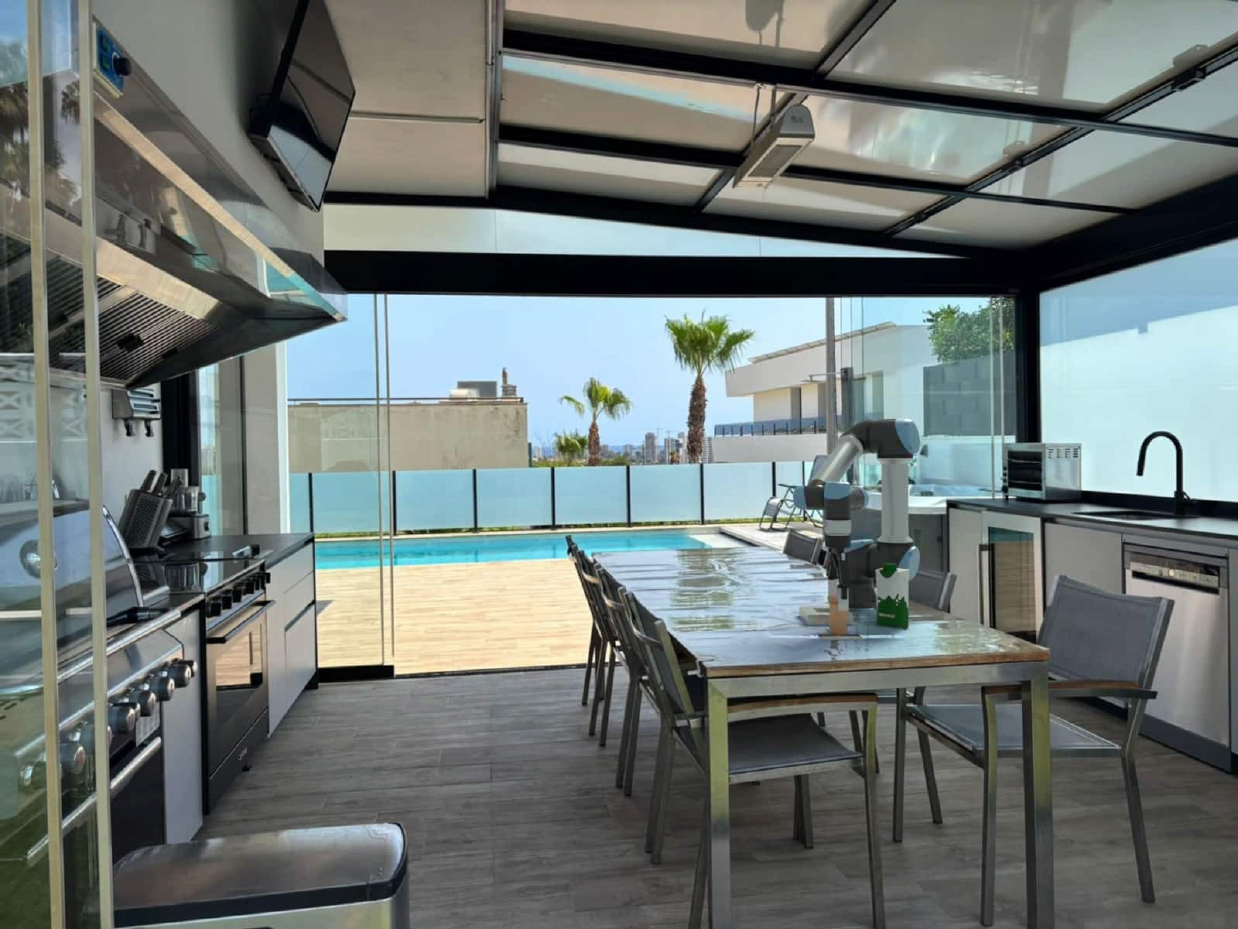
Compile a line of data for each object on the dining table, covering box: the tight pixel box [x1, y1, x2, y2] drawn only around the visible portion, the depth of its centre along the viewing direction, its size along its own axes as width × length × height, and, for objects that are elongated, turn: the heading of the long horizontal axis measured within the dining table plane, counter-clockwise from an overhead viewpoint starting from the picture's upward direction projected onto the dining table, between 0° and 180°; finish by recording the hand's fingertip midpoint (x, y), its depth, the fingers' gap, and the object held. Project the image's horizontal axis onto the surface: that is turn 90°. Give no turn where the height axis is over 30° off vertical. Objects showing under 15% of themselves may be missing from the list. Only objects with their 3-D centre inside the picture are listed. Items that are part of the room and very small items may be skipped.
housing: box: [798, 605, 855, 626], centre depth 263 cm, size 14×14×4 cm
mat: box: [816, 633, 865, 641], centre depth 246 cm, size 12×12×1 cm
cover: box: [827, 595, 849, 636], centre depth 246 cm, size 6×6×11 cm
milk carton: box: [875, 563, 910, 630], centre depth 256 cm, size 9×9×20 cm
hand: (837, 606), depth 246 cm, fingers open, 13 cm apart
